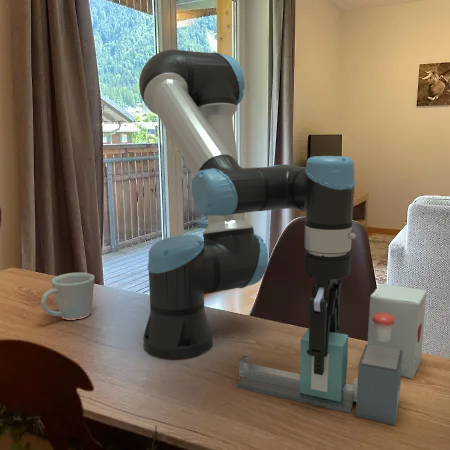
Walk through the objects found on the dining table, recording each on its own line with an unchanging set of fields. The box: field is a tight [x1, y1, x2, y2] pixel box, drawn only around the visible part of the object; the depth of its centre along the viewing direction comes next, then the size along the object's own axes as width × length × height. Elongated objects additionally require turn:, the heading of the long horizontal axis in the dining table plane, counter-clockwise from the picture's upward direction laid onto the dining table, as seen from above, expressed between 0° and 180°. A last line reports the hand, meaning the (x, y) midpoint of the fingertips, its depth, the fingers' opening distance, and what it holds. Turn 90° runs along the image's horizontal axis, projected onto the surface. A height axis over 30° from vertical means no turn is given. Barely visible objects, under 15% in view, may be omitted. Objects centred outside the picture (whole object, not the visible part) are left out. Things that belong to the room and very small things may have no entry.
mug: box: [40, 272, 95, 319], centre depth 117 cm, size 10×15×10 cm
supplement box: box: [366, 283, 427, 380], centre depth 91 cm, size 9×9×15 cm
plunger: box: [372, 312, 395, 342], centre depth 75 cm, size 3×3×4 cm
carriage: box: [299, 328, 349, 402], centre depth 80 cm, size 7×5×10 cm
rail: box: [237, 355, 358, 414], centre depth 83 cm, size 22×7×4 cm, turn 65°
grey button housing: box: [355, 344, 403, 426], centre depth 77 cm, size 6×8×9 cm
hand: (323, 381), depth 81 cm, fingers closed on carriage, 5 cm apart
